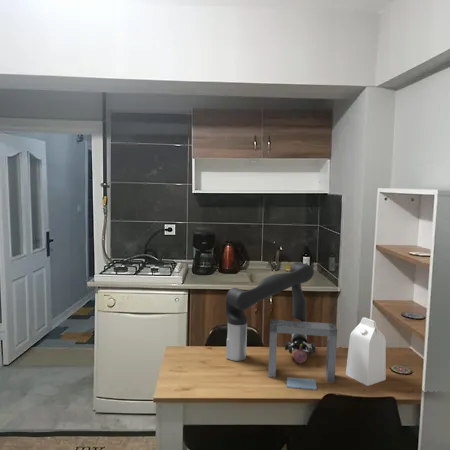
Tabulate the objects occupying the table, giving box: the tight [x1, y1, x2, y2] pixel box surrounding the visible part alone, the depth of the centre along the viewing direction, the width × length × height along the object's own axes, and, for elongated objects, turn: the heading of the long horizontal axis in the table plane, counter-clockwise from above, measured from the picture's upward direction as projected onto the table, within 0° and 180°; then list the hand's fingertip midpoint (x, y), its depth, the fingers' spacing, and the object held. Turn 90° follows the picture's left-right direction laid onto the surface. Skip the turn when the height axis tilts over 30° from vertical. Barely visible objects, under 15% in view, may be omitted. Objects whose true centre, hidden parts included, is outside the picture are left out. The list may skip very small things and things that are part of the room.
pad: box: [286, 376, 318, 391], centre depth 177 cm, size 12×8×1 cm, turn 82°
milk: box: [345, 317, 387, 387], centre depth 183 cm, size 12×12×26 cm
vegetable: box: [293, 344, 308, 365], centre depth 196 cm, size 6×6×10 cm
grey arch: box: [267, 319, 338, 384], centre depth 184 cm, size 28×8×23 cm, turn 82°
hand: (300, 352), depth 195 cm, fingers open, 8 cm apart
